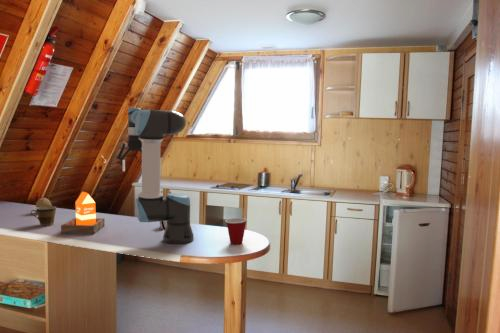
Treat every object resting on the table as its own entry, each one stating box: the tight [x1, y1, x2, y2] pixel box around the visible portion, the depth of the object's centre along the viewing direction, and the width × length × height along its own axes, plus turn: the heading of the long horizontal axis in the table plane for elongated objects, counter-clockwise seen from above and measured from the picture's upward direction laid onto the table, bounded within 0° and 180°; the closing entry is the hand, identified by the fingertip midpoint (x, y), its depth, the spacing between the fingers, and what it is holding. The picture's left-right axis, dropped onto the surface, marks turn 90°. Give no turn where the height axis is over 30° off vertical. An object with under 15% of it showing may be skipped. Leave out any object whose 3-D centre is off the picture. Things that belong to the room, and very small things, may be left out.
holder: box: [60, 217, 106, 235], centre depth 222 cm, size 17×17×4 cm
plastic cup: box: [224, 217, 248, 246], centre depth 201 cm, size 11×11×12 cm
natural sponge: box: [35, 197, 53, 208], centre depth 262 cm, size 9×9×10 cm
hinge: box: [158, 221, 167, 230], centre depth 234 cm, size 17×5×10 cm, turn 163°
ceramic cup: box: [30, 205, 57, 227], centre depth 230 cm, size 13×10×10 cm
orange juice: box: [75, 191, 97, 225], centre depth 221 cm, size 8×9×20 cm
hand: (135, 171), depth 238 cm, fingers open, 13 cm apart
